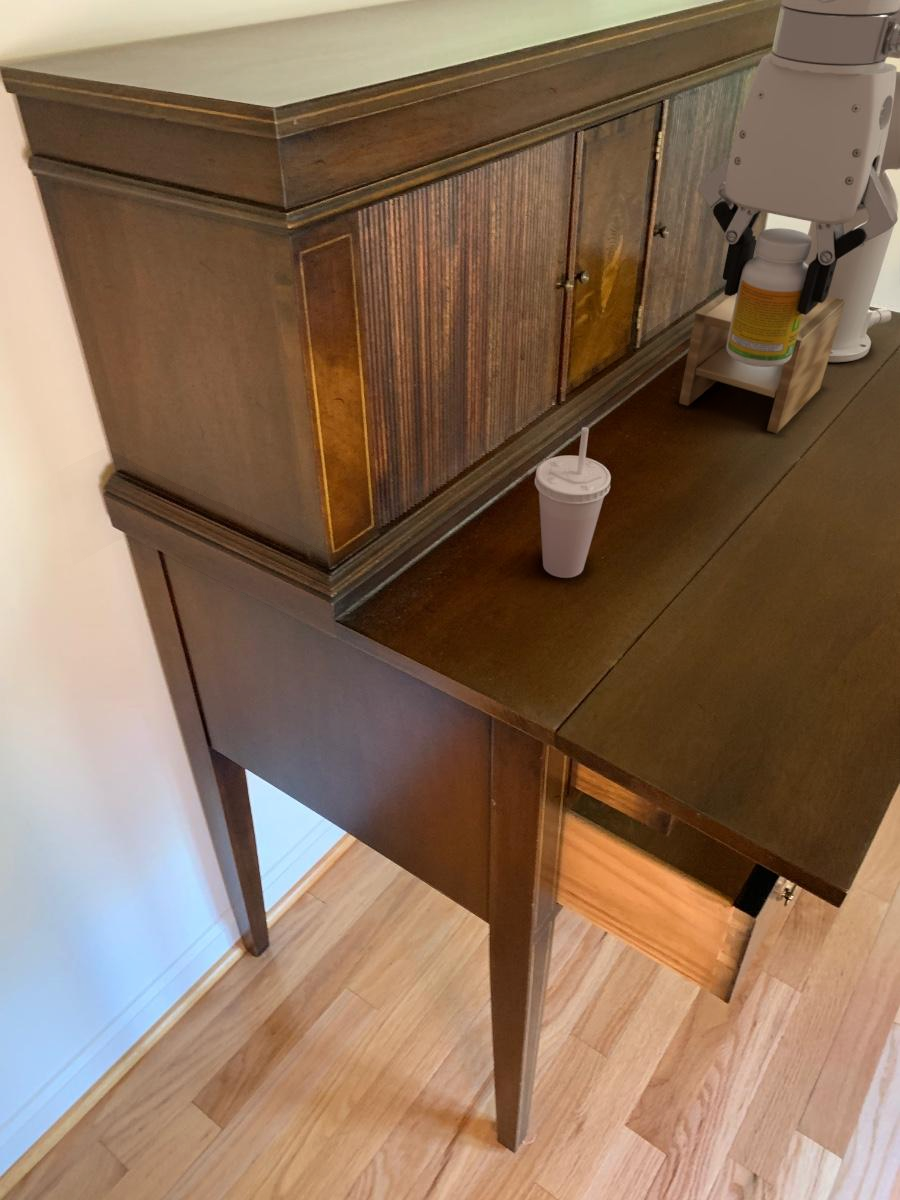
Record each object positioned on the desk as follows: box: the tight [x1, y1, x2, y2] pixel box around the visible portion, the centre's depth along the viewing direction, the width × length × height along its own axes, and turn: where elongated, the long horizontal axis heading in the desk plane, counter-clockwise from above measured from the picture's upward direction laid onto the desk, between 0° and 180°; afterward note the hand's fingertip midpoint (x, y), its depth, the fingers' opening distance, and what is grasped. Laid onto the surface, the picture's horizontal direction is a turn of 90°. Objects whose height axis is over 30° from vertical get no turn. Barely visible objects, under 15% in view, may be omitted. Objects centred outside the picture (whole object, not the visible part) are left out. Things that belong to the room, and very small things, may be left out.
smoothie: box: [534, 426, 612, 579], centre depth 79 cm, size 6×6×14 cm
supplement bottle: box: [726, 227, 812, 367], centre depth 74 cm, size 5×5×10 cm
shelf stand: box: [678, 292, 845, 434], centre depth 106 cm, size 14×12×11 cm
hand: (771, 297), depth 74 cm, fingers closed on supplement bottle, 5 cm apart
